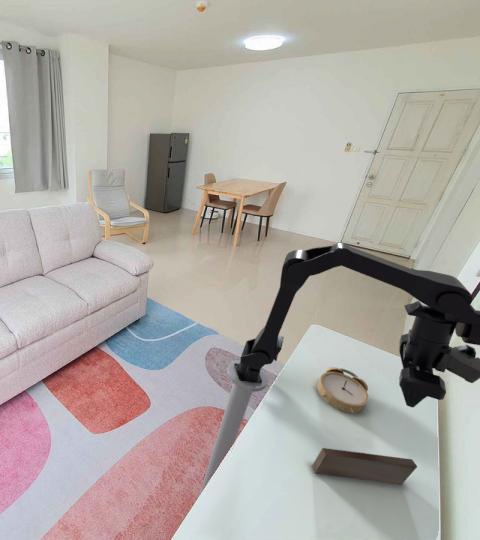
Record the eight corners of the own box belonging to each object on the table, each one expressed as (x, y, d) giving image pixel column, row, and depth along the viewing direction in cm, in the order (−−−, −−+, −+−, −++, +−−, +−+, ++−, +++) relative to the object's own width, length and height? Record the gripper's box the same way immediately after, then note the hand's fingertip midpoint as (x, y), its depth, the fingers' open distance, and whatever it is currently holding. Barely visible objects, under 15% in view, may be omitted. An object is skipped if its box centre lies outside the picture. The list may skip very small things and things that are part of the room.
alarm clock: (315, 389, 82) (330, 355, 90) (310, 399, 85) (325, 365, 93) (364, 414, 75) (376, 376, 84) (357, 424, 78) (369, 386, 86)
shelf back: (311, 466, 66) (322, 447, 63) (396, 477, 65) (412, 459, 62) (314, 473, 65) (325, 454, 62) (401, 484, 63) (417, 466, 60)
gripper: (502, 377, 49) (469, 443, 55) (481, 325, 62) (456, 382, 68) (410, 354, 56) (390, 414, 62) (408, 311, 69) (391, 364, 75)
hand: (409, 392), depth 66 cm, fingers open, 9 cm apart
